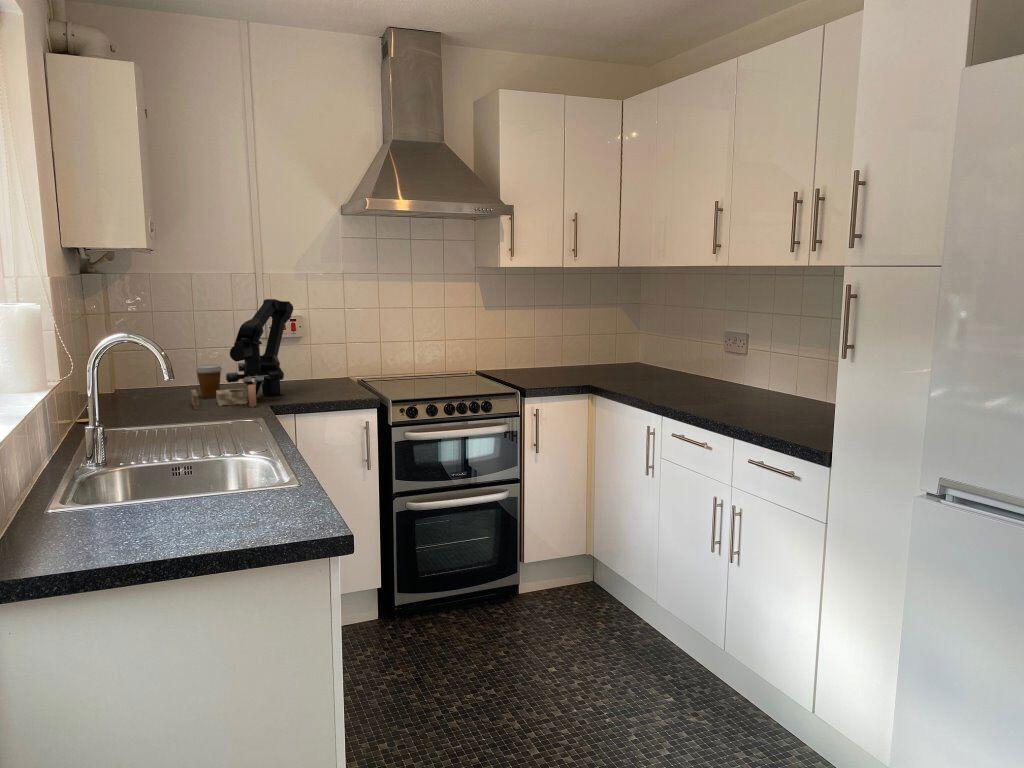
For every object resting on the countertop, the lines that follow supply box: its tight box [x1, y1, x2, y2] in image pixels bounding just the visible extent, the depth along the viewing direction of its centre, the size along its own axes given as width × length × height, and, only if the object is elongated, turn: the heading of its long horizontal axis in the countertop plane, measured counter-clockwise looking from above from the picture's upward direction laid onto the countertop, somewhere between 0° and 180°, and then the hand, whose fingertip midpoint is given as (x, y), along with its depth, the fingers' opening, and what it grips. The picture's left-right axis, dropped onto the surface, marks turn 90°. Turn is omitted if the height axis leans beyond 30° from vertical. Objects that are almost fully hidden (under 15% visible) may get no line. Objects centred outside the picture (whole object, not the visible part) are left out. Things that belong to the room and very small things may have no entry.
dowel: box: [247, 383, 257, 408], centre depth 276 cm, size 3×3×8 cm
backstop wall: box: [190, 389, 200, 410], centre depth 277 cm, size 2×13×5 cm, turn 27°
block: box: [215, 388, 249, 407], centre depth 283 cm, size 10×8×4 cm
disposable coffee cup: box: [195, 364, 222, 399], centre depth 295 cm, size 10×10×12 cm
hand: (254, 398), depth 287 cm, fingers closed
